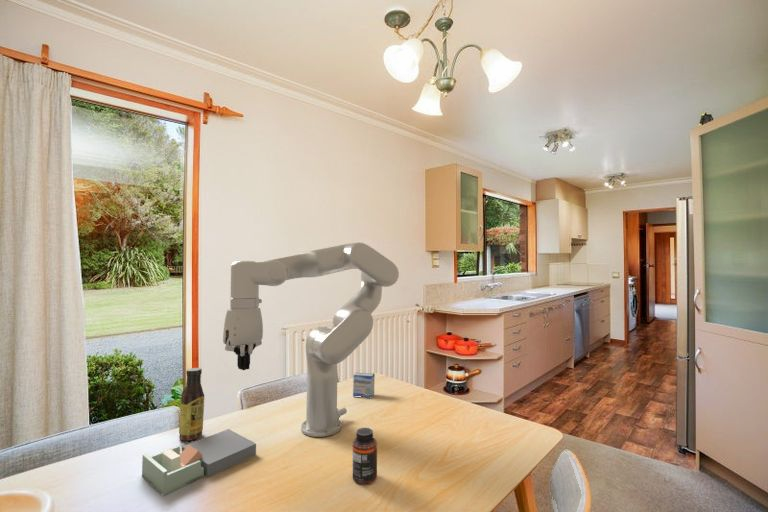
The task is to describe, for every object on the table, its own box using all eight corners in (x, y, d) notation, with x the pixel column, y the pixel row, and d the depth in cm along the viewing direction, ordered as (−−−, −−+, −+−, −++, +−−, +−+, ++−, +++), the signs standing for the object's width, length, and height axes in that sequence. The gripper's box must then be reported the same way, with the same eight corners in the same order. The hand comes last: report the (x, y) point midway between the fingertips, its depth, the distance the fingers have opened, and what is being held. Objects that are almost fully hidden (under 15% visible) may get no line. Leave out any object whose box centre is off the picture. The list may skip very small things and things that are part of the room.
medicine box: (352, 397, 139) (352, 375, 140) (355, 393, 144) (355, 371, 144) (372, 398, 138) (372, 376, 138) (374, 394, 142) (374, 372, 143)
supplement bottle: (369, 468, 90) (369, 423, 90) (381, 480, 85) (382, 432, 85) (347, 476, 87) (348, 429, 87) (359, 489, 82) (360, 439, 82)
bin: (181, 460, 93) (181, 440, 93) (203, 476, 86) (204, 455, 86) (141, 475, 86) (142, 454, 86) (162, 495, 79) (163, 472, 79)
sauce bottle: (192, 443, 102) (194, 373, 102) (173, 441, 103) (175, 371, 104) (208, 433, 108) (209, 367, 109) (190, 430, 109) (192, 365, 110)
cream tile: (171, 449, 87) (162, 452, 86) (180, 455, 85) (171, 459, 83) (170, 470, 87) (161, 473, 86) (179, 477, 84) (170, 481, 83)
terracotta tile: (193, 449, 92) (188, 444, 91) (203, 455, 89) (198, 450, 88) (176, 467, 88) (171, 463, 87) (185, 474, 85) (180, 470, 84)
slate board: (228, 439, 104) (228, 428, 104) (255, 454, 96) (256, 443, 96) (181, 457, 94) (181, 446, 94) (207, 477, 86) (208, 464, 86)
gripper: (259, 301, 110) (259, 361, 109) (212, 305, 98) (211, 372, 97) (274, 302, 105) (274, 365, 105) (226, 307, 93) (225, 378, 93)
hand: (243, 368), depth 101 cm, fingers closed
